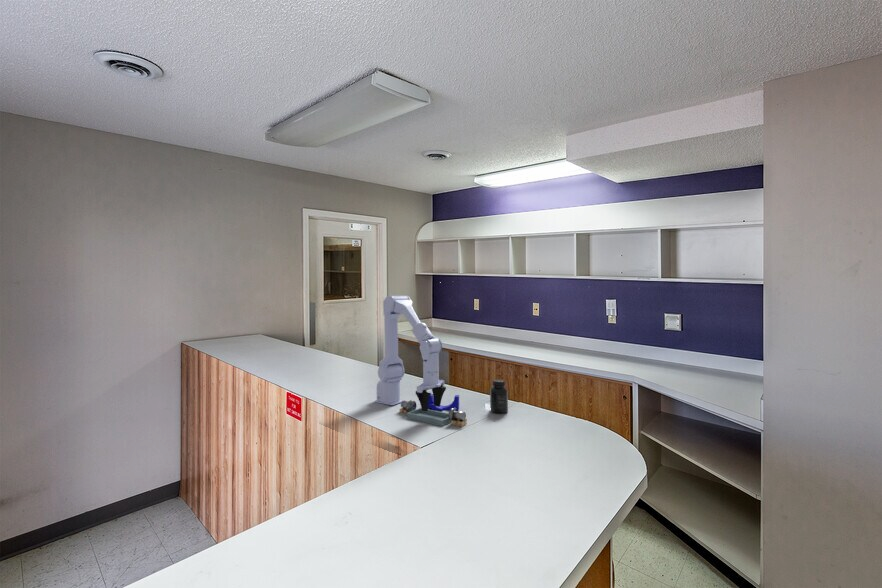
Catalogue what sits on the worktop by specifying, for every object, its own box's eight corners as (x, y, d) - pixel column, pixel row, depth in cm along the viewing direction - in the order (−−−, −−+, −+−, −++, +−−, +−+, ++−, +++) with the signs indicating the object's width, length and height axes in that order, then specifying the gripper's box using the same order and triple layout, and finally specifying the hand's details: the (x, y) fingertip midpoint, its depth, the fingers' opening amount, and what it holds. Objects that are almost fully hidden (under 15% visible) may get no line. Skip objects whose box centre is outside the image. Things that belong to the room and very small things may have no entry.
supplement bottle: (509, 409, 163) (509, 379, 162) (506, 414, 156) (506, 383, 156) (492, 408, 165) (492, 378, 165) (488, 413, 158) (488, 381, 158)
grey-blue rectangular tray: (406, 418, 152) (406, 412, 152) (420, 412, 159) (420, 407, 159) (442, 426, 143) (442, 420, 143) (455, 420, 150) (455, 414, 150)
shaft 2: (448, 425, 144) (448, 409, 144) (454, 421, 148) (453, 406, 148) (461, 427, 142) (461, 411, 142) (466, 423, 146) (466, 408, 146)
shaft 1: (416, 413, 158) (416, 399, 158) (407, 416, 155) (407, 401, 155) (407, 411, 161) (407, 397, 161) (399, 413, 158) (399, 399, 158)
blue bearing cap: (427, 412, 160) (427, 396, 160) (429, 408, 165) (429, 393, 165) (457, 413, 159) (457, 397, 159) (459, 410, 163) (459, 395, 163)
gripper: (427, 375, 143) (427, 415, 143) (451, 369, 155) (451, 405, 155) (411, 373, 147) (412, 411, 147) (435, 367, 159) (436, 402, 159)
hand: (431, 408), depth 151 cm, fingers open, 7 cm apart
